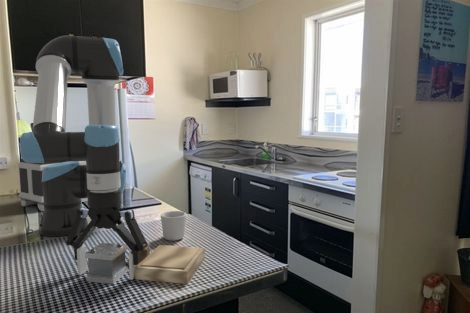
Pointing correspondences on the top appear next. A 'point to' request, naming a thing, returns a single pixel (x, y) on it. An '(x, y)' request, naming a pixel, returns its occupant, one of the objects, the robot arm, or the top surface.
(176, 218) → the cup
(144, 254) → the walnut block
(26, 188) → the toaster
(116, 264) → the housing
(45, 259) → the top surface
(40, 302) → the top surface
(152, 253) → the tan square tray
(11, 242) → the top surface
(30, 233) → the top surface
